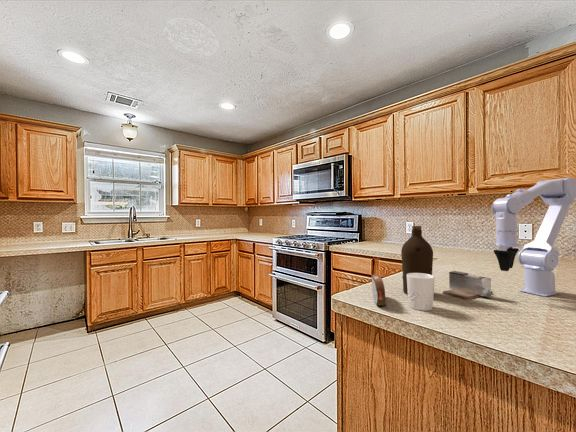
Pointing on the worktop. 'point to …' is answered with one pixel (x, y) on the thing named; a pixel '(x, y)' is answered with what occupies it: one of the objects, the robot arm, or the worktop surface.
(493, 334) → the worktop surface
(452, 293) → the walnut board
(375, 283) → the tin
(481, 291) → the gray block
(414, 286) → the white cup
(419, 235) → the olive oil
